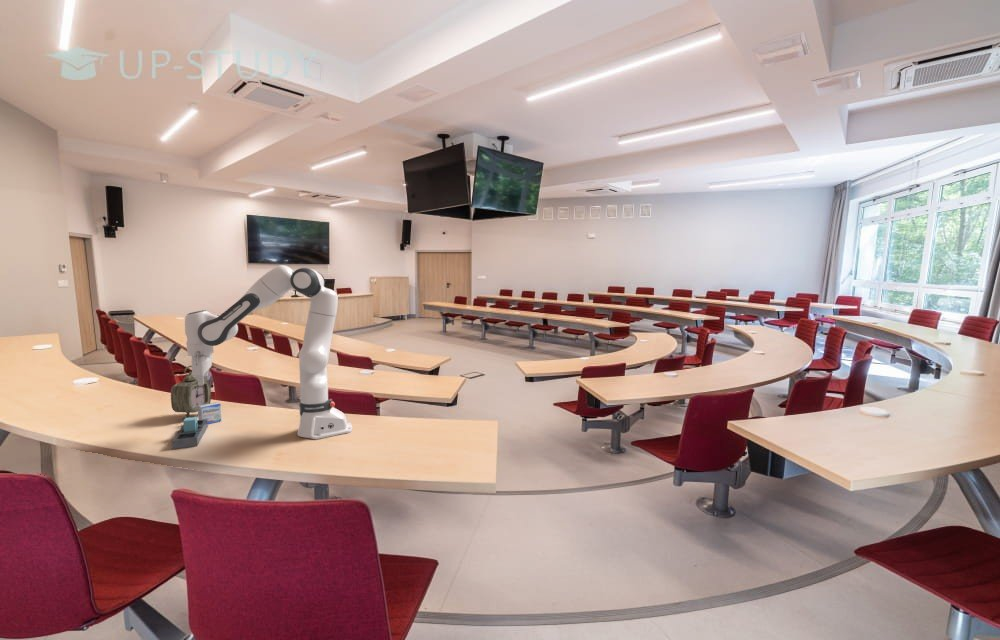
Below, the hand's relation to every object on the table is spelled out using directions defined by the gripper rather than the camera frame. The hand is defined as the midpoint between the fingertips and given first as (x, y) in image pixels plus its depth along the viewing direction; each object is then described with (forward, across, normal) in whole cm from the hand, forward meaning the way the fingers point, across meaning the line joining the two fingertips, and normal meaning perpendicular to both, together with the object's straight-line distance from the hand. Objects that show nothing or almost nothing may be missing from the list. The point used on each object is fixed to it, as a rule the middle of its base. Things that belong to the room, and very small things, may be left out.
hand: (203, 382), depth 173 cm
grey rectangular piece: (+23, +2, +6) cm, 24 cm away
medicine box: (+24, +20, +2) cm, 31 cm away
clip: (+23, +2, +6) cm, 24 cm away
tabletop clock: (+23, +32, +12) cm, 41 cm away
